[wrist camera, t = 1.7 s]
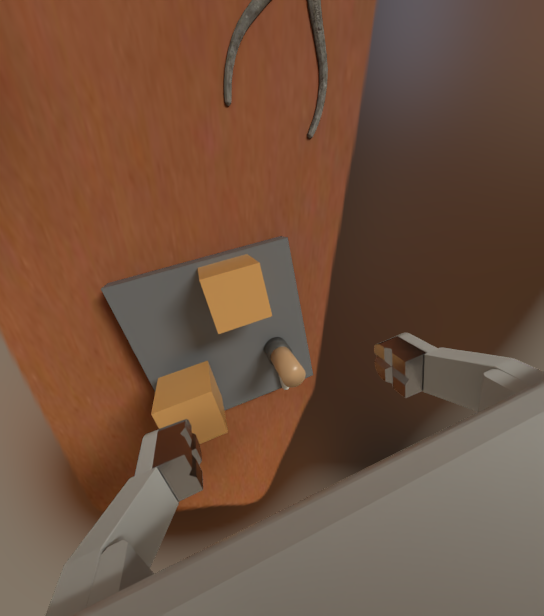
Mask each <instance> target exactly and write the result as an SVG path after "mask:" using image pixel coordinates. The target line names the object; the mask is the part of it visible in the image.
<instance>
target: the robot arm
mask: <svg viewBox="0 0 544 616" xmlns="http://www.w3.org/2000/svg"><path fill="white" fill-rule="evenodd" d="M374 353H375V354H376V355H377V358H376V360H375V367H376V370H377V372H378V374H379V375H380V377H381V378H382V379H383V380H385V381H386V382H389V383H393V388H394V389H395V390H396V391H397V392H399V393H400V394H401V395H402V396H403V397H405V398H407V397H409V396H412V395H414V394H417V393H419V392H421V391H423V392H425V393H428V394H431V395H434V396H436V397H439V398H442V399H444V400H447V401H450V402H453V403H455V404H458V405H461V406H463V407H466V408H469V409H472V410H474V411H477V413H475V414H473V415H471V416H470V417H467V418H465V419H463V420H461V421H459V422H457V423H455V424H453V425H451V426H449V427H447V428H445V429H443V430H441V431H439V432H437V433H435V434H433V435H431V436H429V437H427V438H425V439H423V440H421V441H419V442H417V443H415V444H413V445H412V446H409V447H407V448H405V449H403V450H401V451H399V452H397V453H395V454H394V455H391V456H389V457H388V458H385V459H383V460H381V461H379V462H377V463H375V464H373V465H371V466H369V467H367V468H365V469H363V470H361V471H359V472H357V473H355V474H353V475H351V476H349V477H347V478H345V479H343V480H341V481H339V482H337V483H335V484H333V485H331V486H329V487H327V488H325V489H323V490H321V491H319V492H317V493H315V494H313V495H311V496H309V497H307V498H305V499H303V500H301V501H299V502H297V503H295V504H293V505H291V506H289V507H287V508H285V509H283V510H281V511H279V512H277V513H275V514H273V515H271V516H269V517H267V518H265V519H263V520H261V521H259V522H257V523H255V524H253V525H251V526H249V527H247V528H245V529H243V530H241V531H239V532H237V533H235V534H233V535H231V536H229V537H227V538H225V539H223V540H221V541H219V542H217V543H215V544H213V545H211V546H209V547H207V548H205V549H203V550H201V551H199V552H197V553H195V554H193V555H191V556H189V557H187V558H185V559H183V560H181V561H179V562H177V563H175V564H173V565H171V566H169V567H167V568H165V569H163V570H161V571H159V572H157V573H155V574H154V573H153V572H152V571H151V569H150V567H151V565H152V563H153V560H154V558H155V556H156V554H157V551H158V549H159V547H160V544H161V542H162V540H163V538H164V535H165V533H166V531H167V528H168V526H169V524H170V522H171V520H172V517H173V515H174V513H175V511H176V508H177V506H178V504H179V503H178V502H179V501H181V500H183V499H185V498H187V497H189V496H191V495H193V494H195V493H197V492H200V491H202V490H203V477H202V470H201V468H200V466H199V465H200V463H201V461H202V456H201V449H200V444H199V441H198V439H197V436H196V434H193V433H192V426H191V424H190V422H189V420H188V419H185V420H182V421H179V422H176V423H174V424H171V425H168V426H166V427H163V428H160V429H158V430H155V431H153V432H150V433H147V434H145V435H144V437H143V439H142V444H141V448H140V453H139V457H138V462H137V467H136V471H135V476H134V477H131V478H130V479H129V480H128V481H127V483H126V484H125V485H124V487H123V488H122V489H121V491H120V492H119V493H118V494H117V496H116V497H115V498H114V500H113V501H112V502H111V504H110V505H109V506H108V508H107V509H106V510H105V512H104V513H103V514H102V516H101V517H100V518H99V520H98V521H97V522H96V524H95V525H94V526H93V528H92V529H91V530H90V532H89V533H88V534H87V536H86V537H85V538H84V540H83V541H82V542H81V543H80V545H79V546H78V548H77V549H76V550H75V552H74V553H73V554H72V555H71V557H70V558H69V559H68V561H67V562H66V563H65V565H64V567H63V569H62V572H61V575H60V578H59V581H58V583H57V586H56V589H55V591H54V594H53V597H52V599H51V602H50V605H49V608H48V610H47V613H46V616H544V371H541V370H539V369H536V368H534V367H532V366H530V365H528V364H525V363H523V362H521V361H519V360H516V359H514V358H508V357H501V356H495V355H488V354H482V353H475V352H468V351H461V350H455V349H448V348H436V347H434V346H432V345H430V344H428V343H426V342H425V341H423V340H421V339H419V338H417V337H415V336H413V335H411V334H409V333H402V334H400V335H397V336H395V337H393V338H391V339H388V340H386V341H384V342H381V343H378V344H376V345H375V347H374Z"/></svg>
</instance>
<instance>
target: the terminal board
mask: <svg viewBox="0 0 544 616" xmlns="http://www.w3.org/2000/svg"><path fill="white" fill-rule="evenodd" d="M245 254H248V255H249V256H251V257H252V258H254V259H255V260H257V261H258V262H259V263H260V266H261V271H262V275H263V279H264V283H265V287H266V291H267V296H268V300H269V304H270V308H271V312H272V316H271V317H268V318H265V319H262V320H259V321H256V322H253V323H251V324H248V325H245V326H242V327H239V328H236V329H233V330H230V331H227V332H224V333H221V334H218V332H217V329H216V326H215V323H214V320H213V318H212V315H211V312H210V309H209V306H208V303H207V300H206V298H205V295H204V292H203V289H202V286H201V283H200V281H199V274H198V268H199V267H202V266H206V265H210V264H213V263H217V262H220V261H224V260H227V259H231V258H235V257H238V256H242V255H245ZM101 290H102V292H103V294H104V296H105V298H106V300H107V302H108V303H109V305H110V307H111V309H112V311H113V313H114V315H115V317H116V319H117V321H118V322H119V324H120V326H121V328H122V330H123V332H124V334H125V336H126V338H127V339H128V341H129V343H130V345H131V347H132V349H133V351H134V353H135V355H136V357H137V358H138V360H139V362H140V364H141V366H142V368H143V370H144V372H145V374H146V376H147V377H148V379H149V381H150V383H151V385H152V387H153V389H154V391H155V396H154V401H153V407H152V412H151V415H152V417H153V419H154V420H155V422H156V424H157V426H158V428H159V429H160V428H163V427H166V426H168V425H171V424H174V423H176V422H179V421H182V420H185V419H188V420H189V422H190V424H191V426H192V433H193V434H196V436H197V439H198V441H199V444H201V443H204V442H206V441H208V440H211V439H213V438H216V437H218V436H220V435H223V434H225V433H227V432H228V428H227V423H226V417H225V411H224V410H227V409H229V408H232V407H234V406H237V405H239V404H242V403H244V402H247V401H249V400H252V399H254V398H257V397H259V396H262V395H264V394H267V393H269V392H272V391H275V390H277V389H280V388H283V389H284V390H287V389H289V387H296V386H298V385H300V384H301V383H302V382H303V381H304V379H305V378H307V377H310V376H312V375H313V372H312V367H311V361H310V356H309V350H308V345H307V340H306V334H305V329H304V324H303V318H302V313H301V307H300V302H299V297H298V291H297V286H296V280H295V275H294V270H293V264H292V259H291V253H290V248H289V243H288V238H287V237H283V236H280V237H276V238H272V239H269V240H265V241H261V242H258V243H254V244H250V245H247V246H243V247H239V248H236V249H232V250H228V251H225V252H221V253H217V254H214V255H210V256H206V257H203V258H199V259H195V260H192V261H188V262H184V263H181V264H177V265H173V266H170V267H166V268H162V269H159V270H155V271H151V272H148V273H144V274H140V275H137V276H133V277H129V278H126V279H122V280H118V281H115V282H111V283H107V284H106V285H105V286H104V287H103V288H101Z"/></svg>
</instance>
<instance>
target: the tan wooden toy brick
mask: <svg viewBox="0 0 544 616" xmlns="http://www.w3.org/2000/svg"><path fill="white" fill-rule="evenodd" d="M198 274H199V281H200V283H201V286H202V289H203V292H204V295H205V298H206V300H207V303H208V306H209V309H210V312H211V315H212V318H213V320H214V323H215V326H216V329H217V332H218V334H221V333H224V332H227V331H230V330H233V329H236V328H239V327H242V326H245V325H248V324H251V323H253V322H256V321H259V320H262V319H265V318H268V317H271V316H272V312H271V308H270V304H269V300H268V296H267V291H266V287H265V283H264V279H263V275H262V271H261V266H260V263H259V262H258V261H257V260H255V259H254V258H252V257H251V256H249V255H248V254H245V255H242V256H238V257H235V258H231V259H227V260H224V261H220V262H217V263H213V264H210V265H206V266H202V267H199V268H198Z"/></svg>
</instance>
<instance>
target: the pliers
mask: <svg viewBox="0 0 544 616" xmlns="http://www.w3.org/2000/svg"><path fill="white" fill-rule="evenodd" d="M270 1H271V0H252V1H251V2H250V4H249V5H248V7H247V8H246V9H245V11H244V13H243V14H242V16H241V18H240V19H239V21H238V23H237V25H236V28H235V30H234V33H233V35H232V39H231V42H230V46H229V50H228V54H227V60H226V65H225V75H224V98H225V104H226V105H227V106H229V105H230V104H231V88H232V73H233V66H234V62H235V57H236V54H237V51H238V48H239V44H240V42H241V40H242V38H243V36H244V34H245V32H246V31H247V29H248V28H249V26H250V25H251V24H252V22H253V21H254V20H255V19H256V17H257V16H258V15H259V14H260V12H261V11H262V10H263V9H264V8H265V7H266V5H267V4H268V3H269V2H270ZM308 7H309V13H310V19H311V24H312V29H313V34H314V40H315V46H316V52H317V58H318V66H319V93H318V100H317V106H316V111H315V114H314V118H313V121H312V123H311V126H310V129H309V132H308V134H307V135H308V138H309V139H310V138H312V137H313V135H314V133H315V131H316V129H317V126H318V124H319V121H320V117H321V114H322V111H323V106H324V101H325V96H326V88H327V71H328V68H327V54H326V45H325V37H324V29H323V21H322V12H321V0H308Z"/></svg>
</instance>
